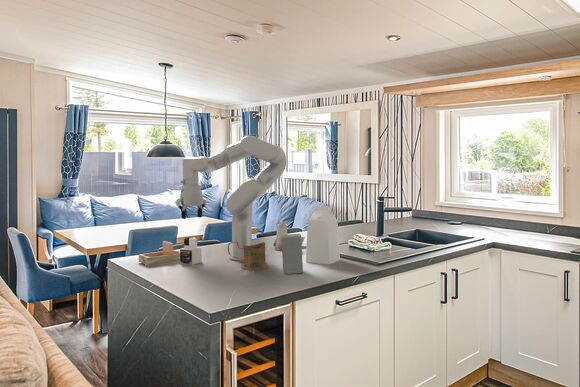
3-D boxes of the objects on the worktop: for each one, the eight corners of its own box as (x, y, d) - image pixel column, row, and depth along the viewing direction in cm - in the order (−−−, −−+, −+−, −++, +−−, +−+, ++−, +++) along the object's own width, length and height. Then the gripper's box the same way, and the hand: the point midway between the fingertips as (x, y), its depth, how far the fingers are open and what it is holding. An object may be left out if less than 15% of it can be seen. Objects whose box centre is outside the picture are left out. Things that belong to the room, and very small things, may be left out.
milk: (340, 259, 211) (339, 205, 210) (329, 264, 201) (328, 206, 200) (317, 257, 217) (316, 204, 216) (306, 262, 207) (305, 206, 206)
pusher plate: (173, 260, 211) (172, 243, 211) (171, 260, 210) (170, 243, 210) (165, 257, 218) (164, 241, 218) (163, 257, 218) (162, 241, 217)
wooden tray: (185, 261, 214) (185, 252, 213) (148, 266, 202) (148, 257, 202) (174, 257, 223) (174, 249, 223) (138, 262, 212) (138, 254, 211)
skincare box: (302, 270, 189) (301, 233, 188) (303, 274, 182) (302, 235, 181) (282, 270, 189) (281, 233, 188) (282, 274, 182) (281, 236, 181)
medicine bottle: (179, 263, 207) (179, 238, 207) (190, 261, 214) (189, 236, 213) (192, 265, 204) (191, 239, 204) (201, 262, 210) (201, 237, 210)
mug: (225, 266, 199) (225, 240, 199) (263, 263, 205) (262, 237, 205) (231, 272, 188) (230, 243, 188) (271, 268, 194) (270, 241, 194)
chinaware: (298, 256, 229) (301, 224, 228) (266, 253, 232) (269, 221, 231) (305, 247, 257) (307, 219, 256) (276, 244, 259) (279, 216, 258)
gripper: (177, 183, 213) (178, 219, 213) (210, 182, 224) (211, 217, 224) (171, 183, 219) (172, 218, 219) (203, 182, 229) (204, 216, 230)
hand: (191, 217), depth 222 cm, fingers open, 7 cm apart
